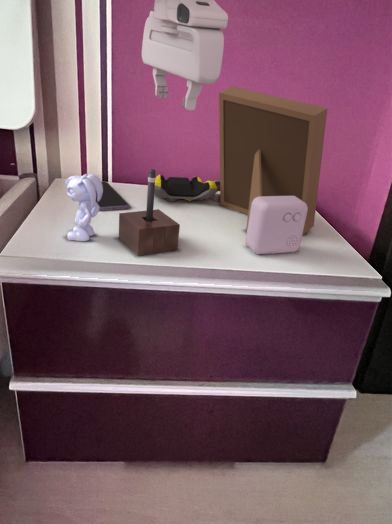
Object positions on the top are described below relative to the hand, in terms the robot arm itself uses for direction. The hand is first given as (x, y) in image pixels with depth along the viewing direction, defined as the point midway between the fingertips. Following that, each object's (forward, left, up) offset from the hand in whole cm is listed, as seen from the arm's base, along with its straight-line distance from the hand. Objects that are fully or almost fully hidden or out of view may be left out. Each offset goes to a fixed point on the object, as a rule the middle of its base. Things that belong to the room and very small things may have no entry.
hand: (174, 103), depth 95 cm
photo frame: (+22, +1, -24) cm, 33 cm away
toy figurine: (-15, +4, -24) cm, 29 cm away
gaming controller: (+14, +19, -24) cm, 34 cm away
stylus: (-5, -2, -24) cm, 25 cm away
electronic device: (+17, -12, -24) cm, 32 cm away
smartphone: (-3, +24, -24) cm, 34 cm away
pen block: (-5, -2, -24) cm, 25 cm away
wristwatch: (+26, +16, -23) cm, 38 cm away
